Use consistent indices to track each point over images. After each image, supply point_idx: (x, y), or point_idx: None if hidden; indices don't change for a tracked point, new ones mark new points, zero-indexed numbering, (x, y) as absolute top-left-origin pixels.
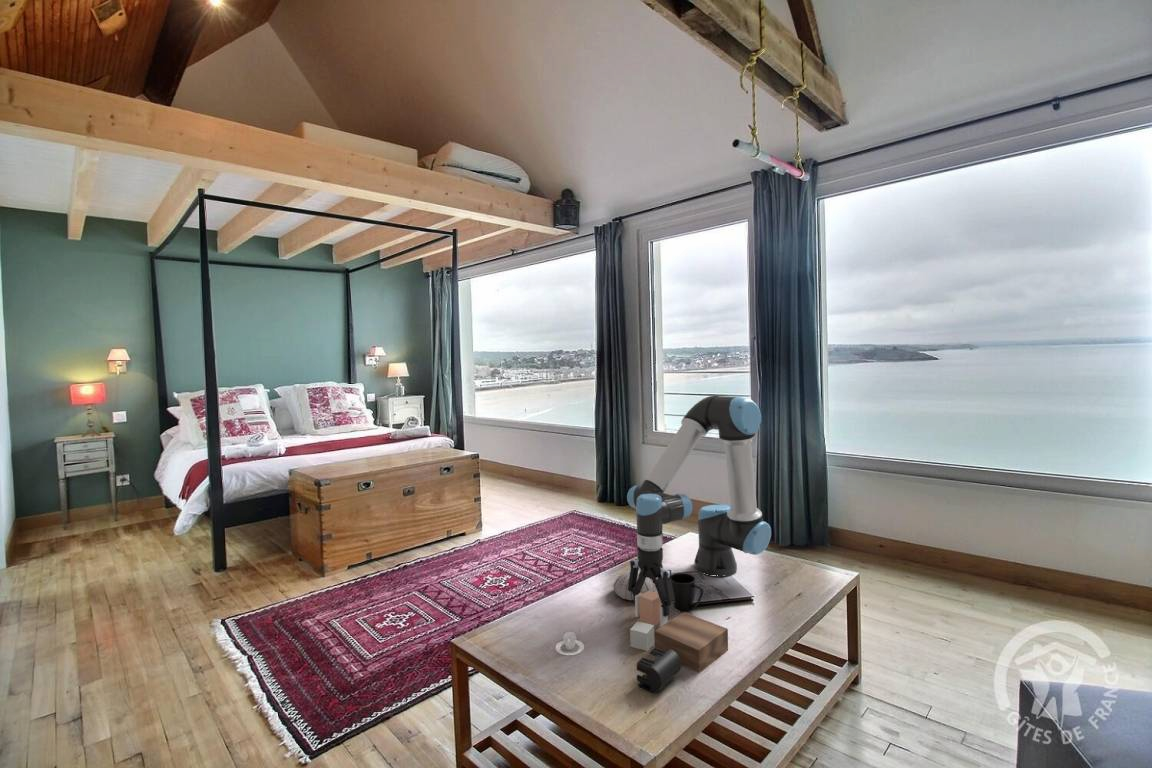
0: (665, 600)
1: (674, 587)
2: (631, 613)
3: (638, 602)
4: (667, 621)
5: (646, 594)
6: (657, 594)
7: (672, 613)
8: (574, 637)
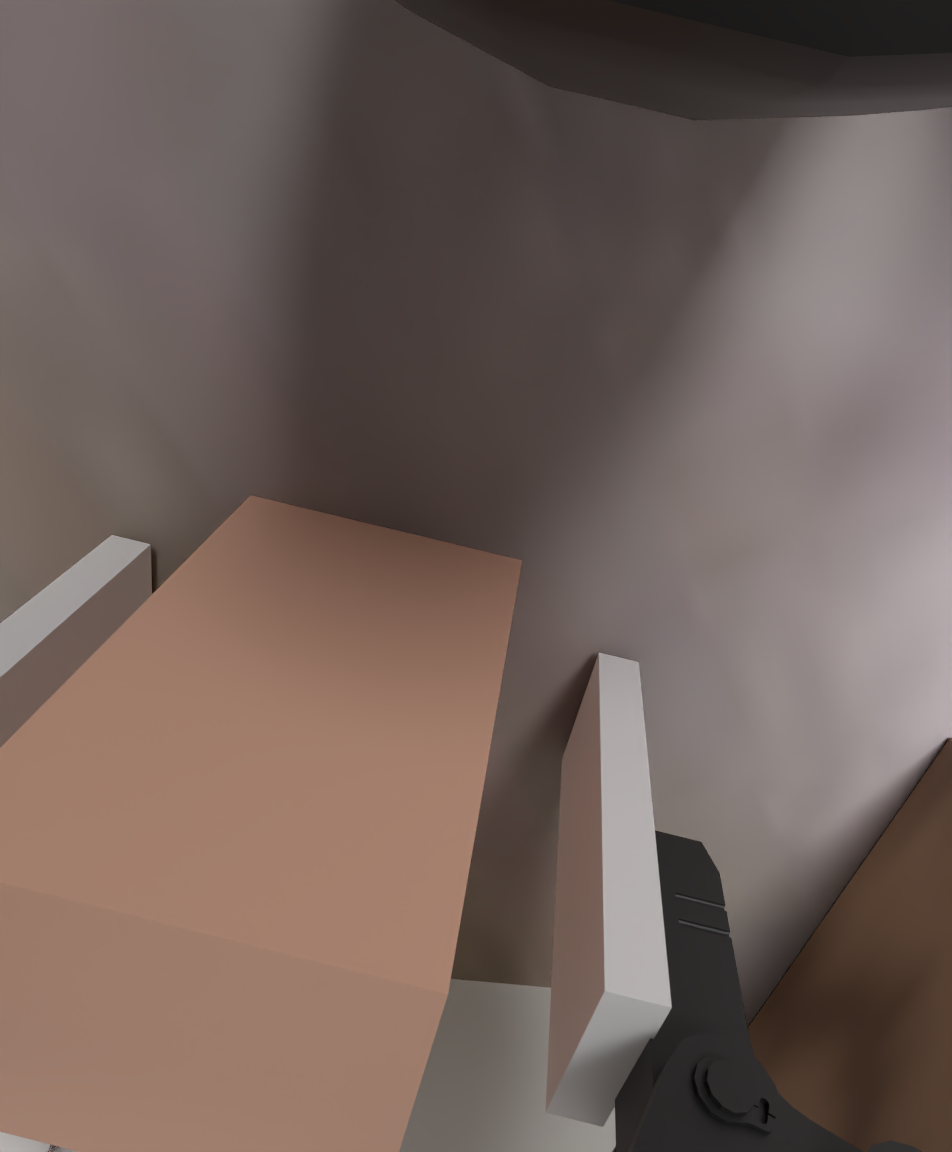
0: (642, 1122)
1: (611, 73)
2: (4, 569)
3: None
4: (640, 692)
5: (51, 1060)
6: (290, 1012)
7: (571, 228)
8: None
